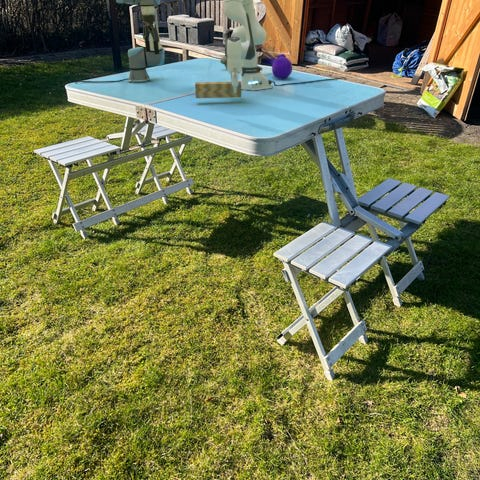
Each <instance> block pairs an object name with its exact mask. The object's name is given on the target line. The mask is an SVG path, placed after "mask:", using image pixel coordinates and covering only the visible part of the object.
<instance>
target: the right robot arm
mask: <svg viewBox="0 0 480 480" xmlns="http://www.w3.org/2000/svg"><path fill="white" fill-rule="evenodd" d="M223 9H224V14H225V17H227V18H228V19H229V20H231V21H233V22H234V23H237V24H239V25H238V26H236V27H235V28H233V31H232V36H231V37H228V38H227V41H226V44H225V45H224V56H226V57H227V58H228V59H227V69H226V71H227V72H228V74H230V80H231V81H230V82H232V86H233V89H234V93H237V86H238V82H239V74H240V82H241V90H244V91H253V92H254V91H261V90H267V89H268V90H269V89H272V88H273V85H274V86H275V87H281V86H288V85H289V86H290V85H299V84H308V83H317V82H324V81H334V80H342V79H344V80H347V78H346V76H345V77H344V76H341V77H336V78H335V77H334V78H327V79H316V80H308V81H300V82H299V81H298V82H288V83H281V84H276V82H275V81H273V80H272V79H271V80H270V79H269V78H268V77H267V76H266V75H265V74H264V73H262V72H261V71H263V67H262V66H259V62H258V61H259V56H258V53H257V49H256V46H261V45H263V44H264V43H266V40H267V38H268V37H267V31H266V29H265V28H263V26H262V25H261V24H260V22H259V20H258V18H257V15H256V10H255V4H254V0H223ZM272 84H273V85H272Z"/></svg>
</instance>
